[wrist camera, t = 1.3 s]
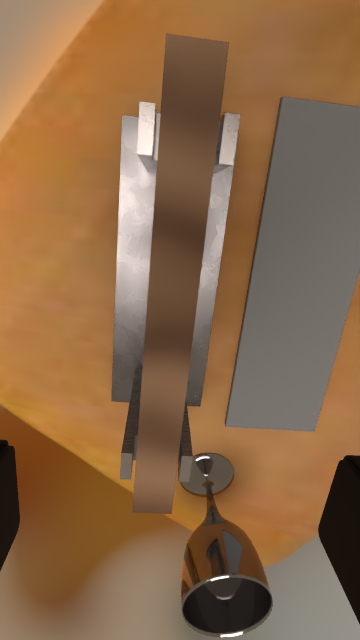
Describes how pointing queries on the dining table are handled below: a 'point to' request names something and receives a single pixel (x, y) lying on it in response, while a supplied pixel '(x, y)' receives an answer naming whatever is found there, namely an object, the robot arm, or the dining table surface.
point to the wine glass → (220, 562)
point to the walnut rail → (176, 256)
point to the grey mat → (300, 268)
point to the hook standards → (135, 267)
